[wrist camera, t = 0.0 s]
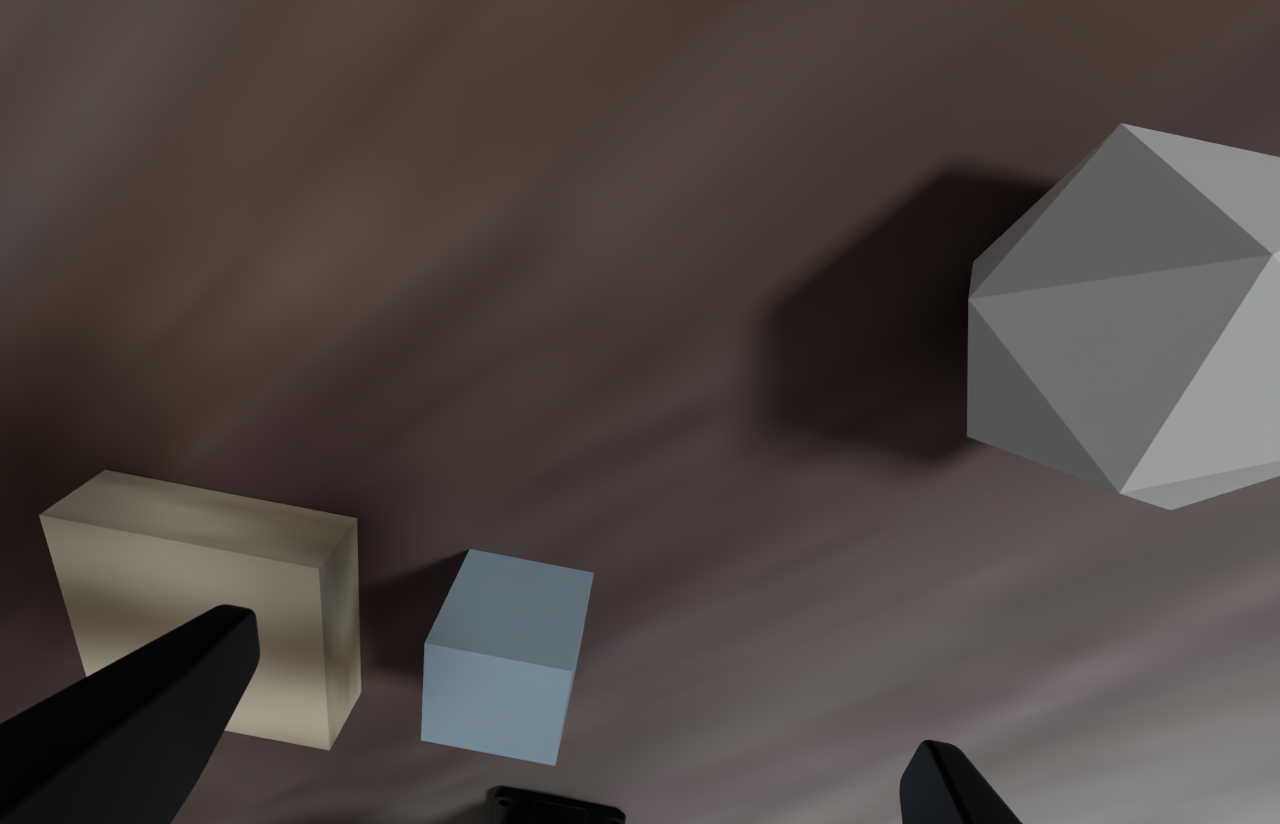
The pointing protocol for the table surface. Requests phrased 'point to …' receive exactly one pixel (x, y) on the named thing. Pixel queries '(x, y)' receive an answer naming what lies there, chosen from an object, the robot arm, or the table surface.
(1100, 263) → the die
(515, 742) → the slate block
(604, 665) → the table surface
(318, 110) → the table surface
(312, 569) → the maple base
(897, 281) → the table surface
